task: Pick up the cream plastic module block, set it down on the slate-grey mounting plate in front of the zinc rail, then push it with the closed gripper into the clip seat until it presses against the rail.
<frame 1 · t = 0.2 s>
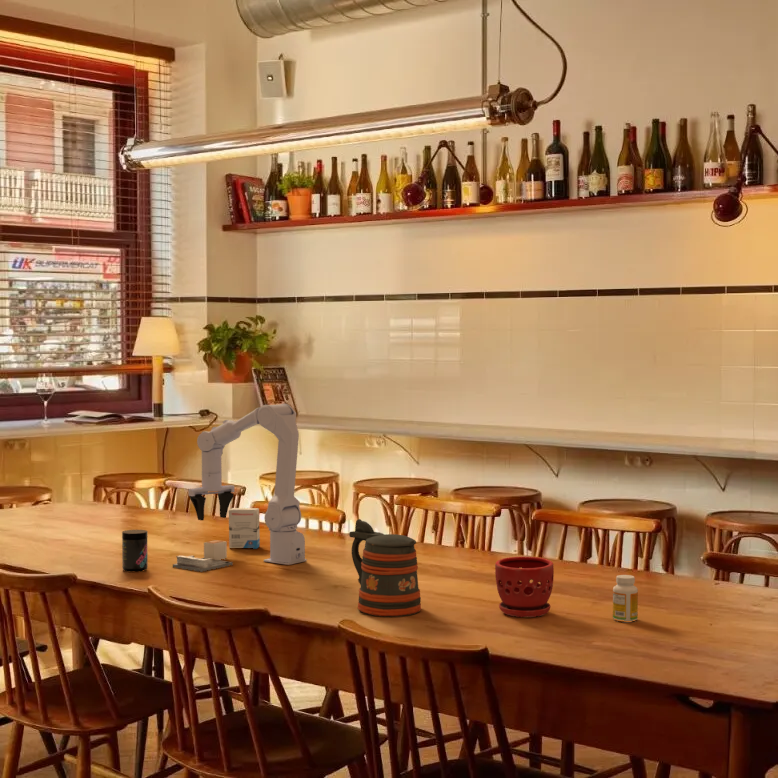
hand: (212, 518, 344), 10 cm above the table, tool pointing down, fingers open, 7 cm apart
beer stein: (381, 609, 271), on the table
plant pot: (524, 614, 267), on the table
supplement bottle: (625, 620, 261), on the table
module: (215, 559, 333), on the table
ink box: (244, 548, 352), on the table
rail plate: (202, 566, 323), on the table
supplement container: (135, 570, 317), on the table
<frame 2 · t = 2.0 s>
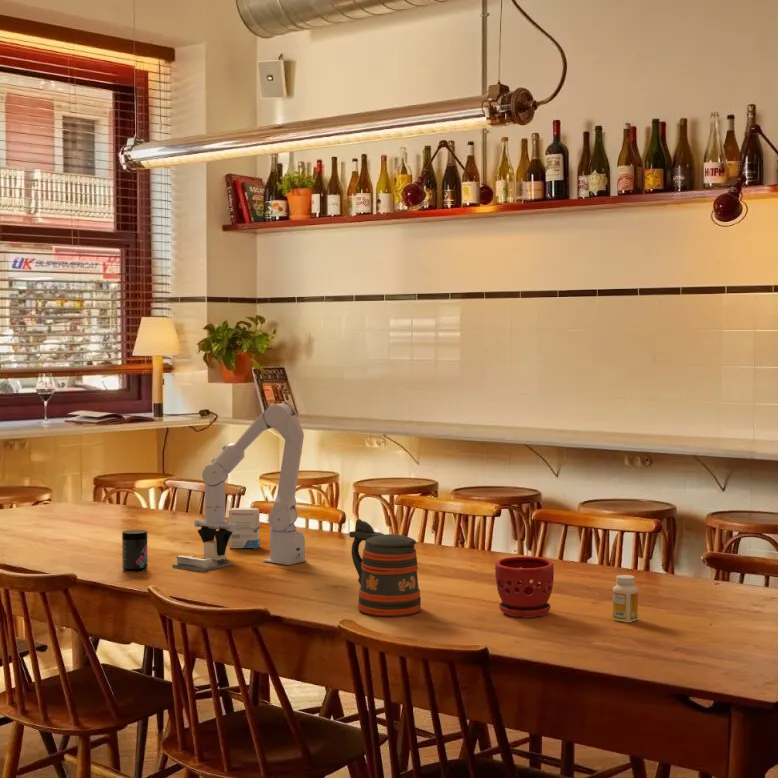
hand: (215, 554, 333), 1 cm above the table, tool pointing down, fingers closed on module, 4 cm apart
module: (215, 559, 333), on the table, touching gripper
everything else where it was.
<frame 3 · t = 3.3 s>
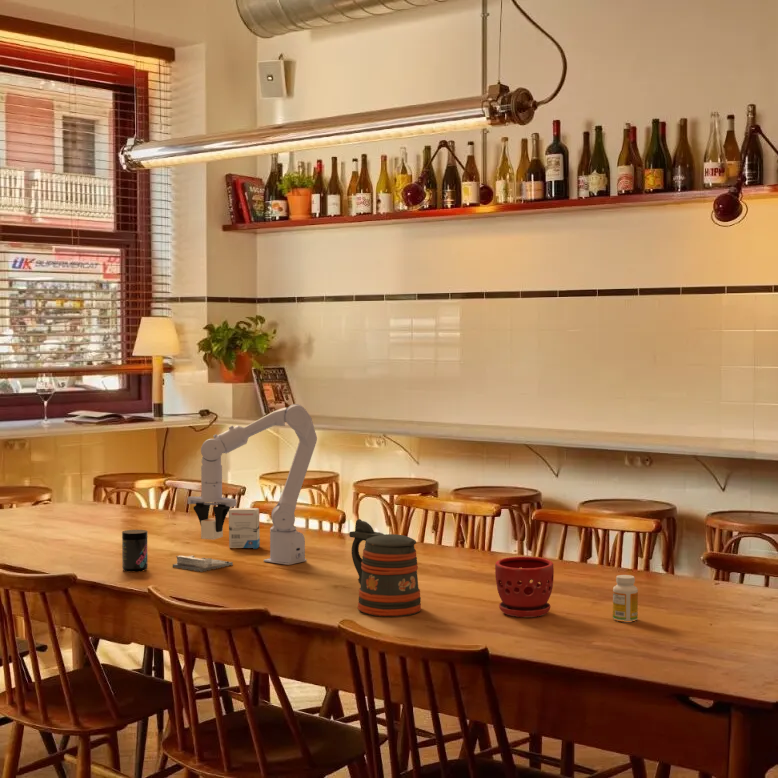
hand: (211, 531, 327), 9 cm above the table, tool pointing down, fingers closed on module, 4 cm apart
module: (212, 537, 327), point 7 cm above the table, touching gripper
everything else where it was.
when the fingers open (3 cm above the table, at t = 4.7 s): module stays where it is, resting on rail plate.
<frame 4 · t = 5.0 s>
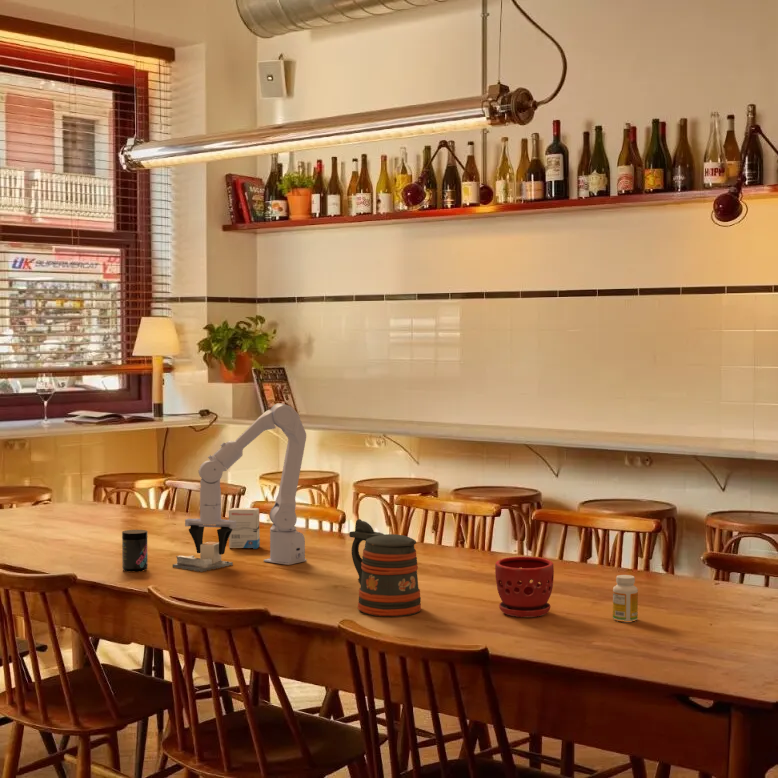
hand: (210, 553, 325), 3 cm above the table, tool pointing down, fingers open, 6 cm apart
module: (210, 561, 325), point 1 cm above the table, touching rail plate
everything else where it was.
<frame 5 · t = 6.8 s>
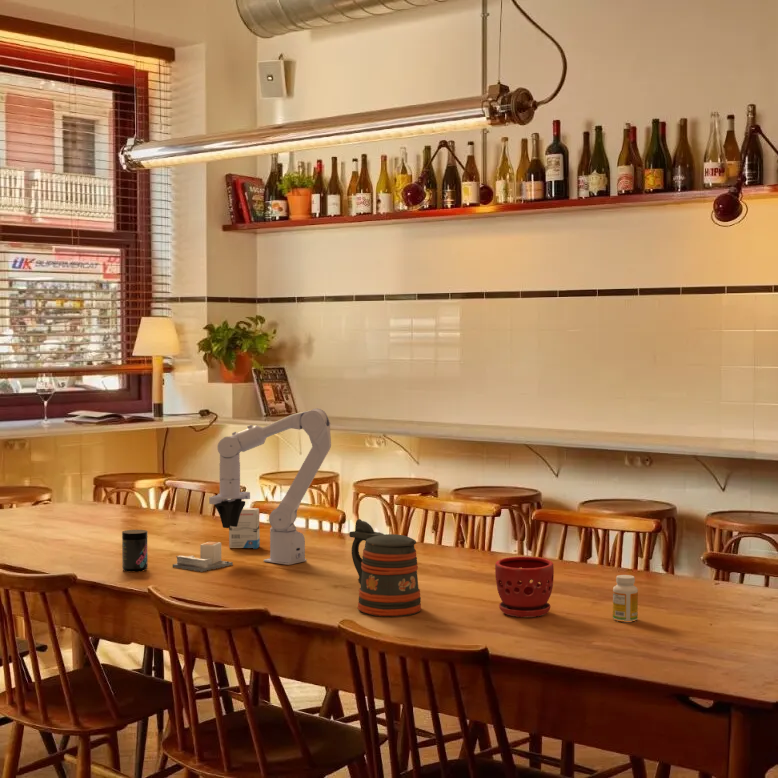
hand: (230, 527, 331), 9 cm above the table, tool pointing down, fingers closed
nothing on the table moved.
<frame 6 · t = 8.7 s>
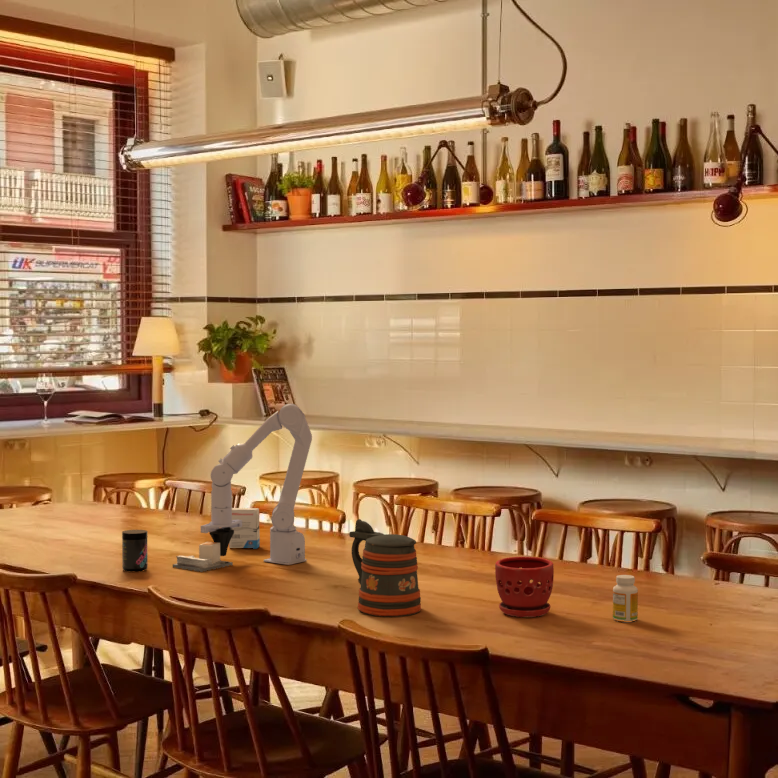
hand: (221, 555, 329), 2 cm above the table, tool pointing down, fingers closed
module: (209, 561, 325), point 1 cm above the table, touching gripper, rail plate
everything else where it was.
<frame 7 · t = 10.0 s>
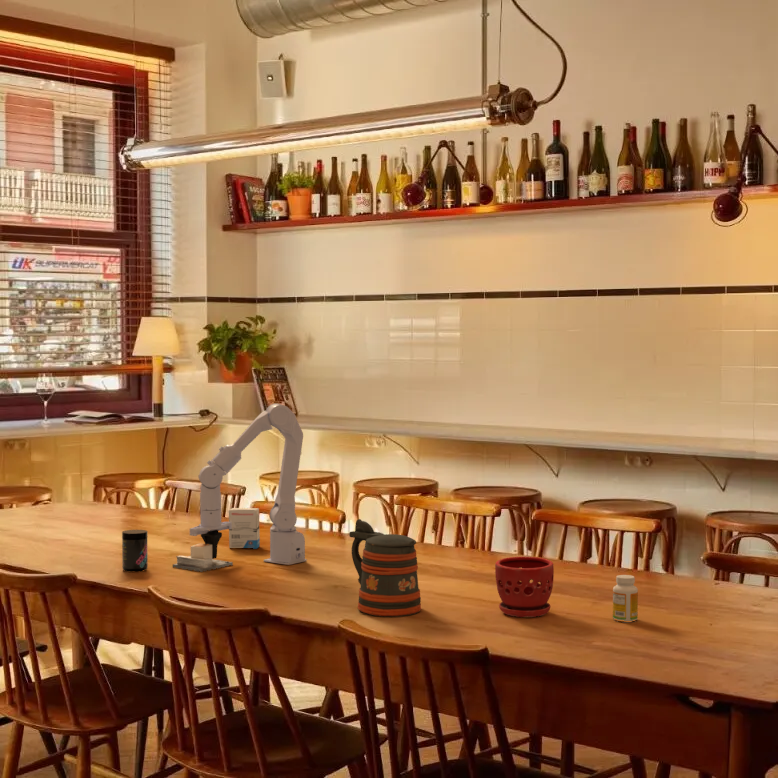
hand: (211, 558, 325), 2 cm above the table, tool pointing down, fingers closed, pressing on module
module: (201, 563, 322), point 1 cm above the table, touching gripper, rail plate
everything else where it was.
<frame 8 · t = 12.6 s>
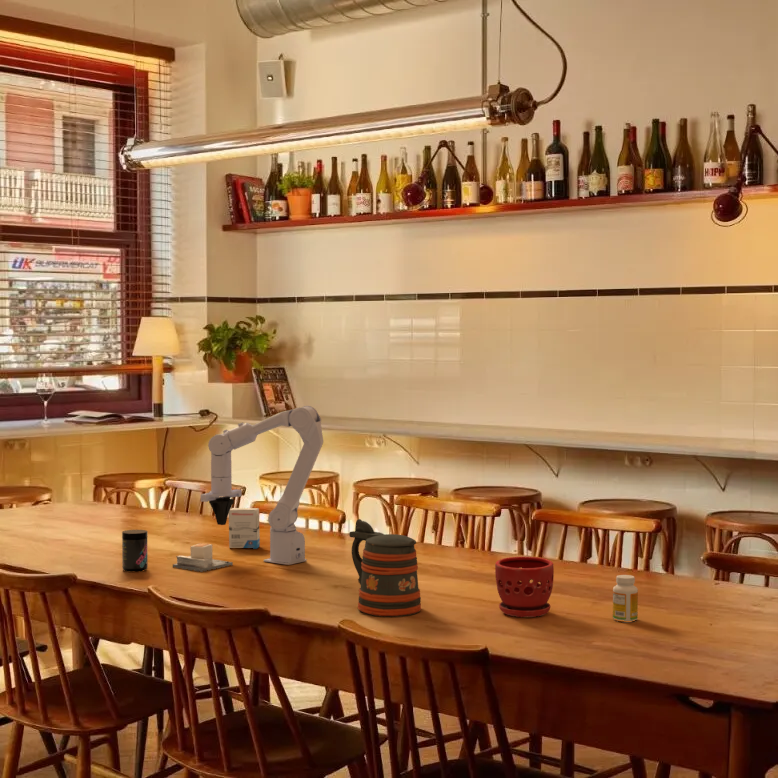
hand: (221, 524, 332), 10 cm above the table, tool pointing down, fingers closed
module: (201, 563, 322), point 1 cm above the table, touching rail plate
everything else where it was.
at the end: module 0.2 cm off-centre on the rail plate, point 0.8 cm above the rail plate's base; module tilted 0°; the gripper is holding nothing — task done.
